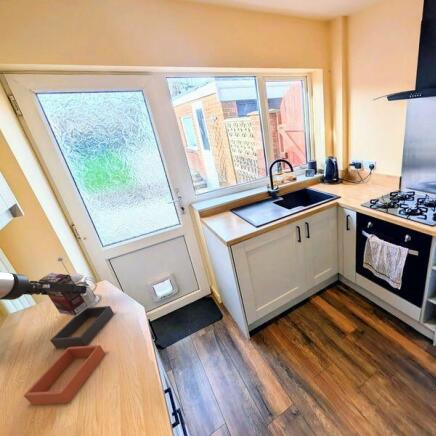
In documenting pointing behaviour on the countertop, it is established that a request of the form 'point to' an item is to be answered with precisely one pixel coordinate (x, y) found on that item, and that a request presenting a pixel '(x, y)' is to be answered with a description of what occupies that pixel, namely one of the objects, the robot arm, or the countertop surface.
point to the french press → (89, 297)
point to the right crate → (63, 335)
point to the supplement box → (65, 296)
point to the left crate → (43, 383)
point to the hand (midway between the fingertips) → (72, 290)
